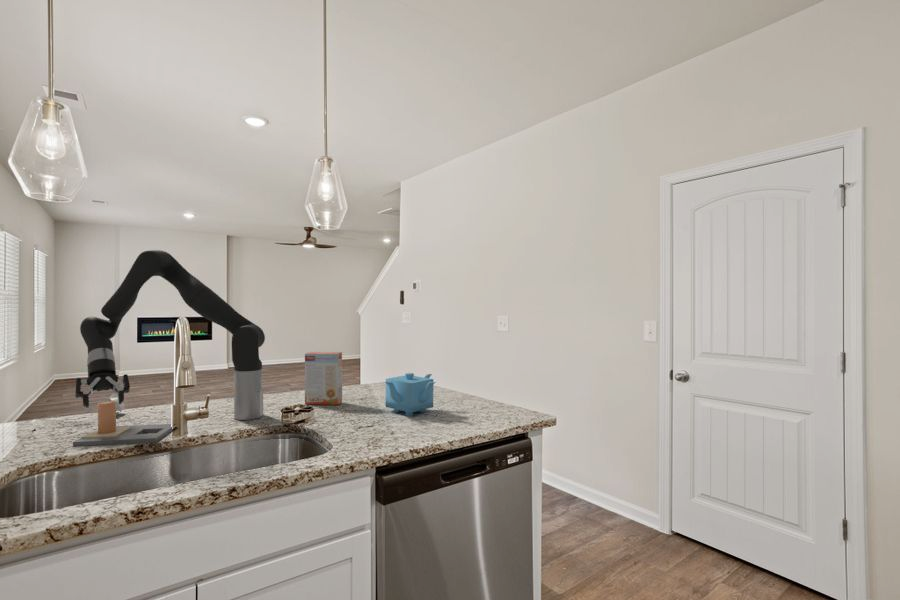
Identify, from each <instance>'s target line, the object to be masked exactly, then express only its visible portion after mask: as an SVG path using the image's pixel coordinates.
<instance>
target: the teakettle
mask: <svg viewBox="0 0 900 600" xmlns="http://www.w3.org/2000/svg"><path fill="white" fill-rule="evenodd" d="M431 376H433V373H428V374H425V376H423V377H422V376H419V375H418V376H417V375H415V373H413V372H408V373H404V375H400V376H393V377H389V378H385V381H384V384H385V408H389V409H393V410H392V411H391V412H392V413H394V414H398V413H400V412H401V411H402V412H405V416H406V417H413V416H414V413H417V412H419V413H427V409H431V408H434V384H436V383H437V382H436V381H434V378H430V377H431Z"/></svg>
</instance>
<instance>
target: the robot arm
mask: <svg viewBox="0 0 900 600" xmlns="http://www.w3.org/2000/svg"><path fill="white" fill-rule="evenodd" d="M153 277H160V278H162V279H164V280H166V281H167V282H168V283H170V284H171V285H172V286H173V287H174V288H175V289H176V290H177V291H178V293H179V295H180V297H181V298H182V300H183V302H184V303H185V304H186V305H187V306H188V307H189V308H191V309H192V310H193V311H194V312H195V313H196V314H198V315H200V316H201V317H202V318H205V319H206V320H209V321H210V322H212V323H214V324H216V325H218V326H220V327H222V328H224V329H226V331H228V333H230V334H231V335H232V336H231V361H232V364H233V368H234V369H233V370H234V372H233V376H234V377H233V379H234V380H233V384H234V385H233V386H234V387H233V388H234V389H233V394H234V397H233V410H234V411H233V417H234V419H235V420H236V421H237V420H239V421H249V420H255V419H261V417H262V416H263V415H264V389H263V361H262V360H261V359H260V355H259V354H260V353H259V352H260V351H259V349H260V347H262V346H263V345H264V343H265V339H266V335H265V332H264V330H263V328H261V327H260V326H259V325H257V324H255V323H254V322H252V321H250V320H249V319H248V318H246V317H244V316H243V315H241V314H240V313H239V312H238V311H237V310H235V309H234V308H233V307H232V306H231V305H230V304H228V303H227V302H226V301H225V300H224V299H223V298H222V297H221V296H219V294H217V292H215V291H213V290H212V289H211V288H210V287H208V285H206V284H205V283H203V282H202V281H201V280H200V279H198V278H197V277H196V276H194V275H193V274H191V273H190V272H189V271H188V270H187V269H186V268H185V267H183V265H181V264H180V262H179V261H178V260H177V259H176V258H175V257H174V256H173V255H171V253H169V252H167V251H164V250H158V249H147V250H144V251H142V252H141V253H139V255H138V256H137V257H136V259H135V261H134V262H133V263H132V266H131V268H130V269H129V271H128V273H127V274H126V276H125V278H124V279H123V280H122V282H121V284H120V285H119V286H118V288H117V289H116V290H115V292H114V293H113V294H112V295H111V296H110V298H109V299H108V300H107V301H106V303H105V304H104V305H103V306H102V307H101V310H100V312H101V314H102V315H103V316H104V317H105V318H106V319H103V318H100V317H97V316H88V317H86V318H84V319H82V321H81V323H80V327H79V331H80V334H81V337H82V339H83V341H84V343H85V345H86V347H87V364H86V367H87V378H86V379H82V378H81V377H78V378H76V380H75V381H76V383H75V394H74V395H75V398H76V399H77V398H82V405H83V407H85V408H87V409H88V408H90V398H89V396H91V395H92V394H93V393H94V392H95V391H96V392H101V391H109V390H111V391H112V392H115V394H118V401H119V404H121V403H122V402H123V403H124V401H125V393H129V392H130V389H131V384H130V381H129V375H128V374H126V373H125V374H123V375H122V376H118V375H117V372H116V370H117V369H116V360H115V355H114V348H113V341H112V340H111V339H113V338H114V337H116V334H117V333H118V329H119V326H120V324H121V322H122V320H123V319H124V317H125V315H126V314H127V313H128V312H129V311H130V310H131V309H132V308H133V306H134V304H136V301H137V298H138V294H139V292H140V290H141V289H142V287H143V286H144V285H145V284H146V283H147V282H148V281H149V280H150V279H151V278H153ZM107 319H109V320H107ZM118 381H119V382H120V383H121V384H123V386H121V385H120V384H119V383H118ZM85 384H86V385H87V388H85V390H84V391H81V390H82V387H84V386H85Z"/></svg>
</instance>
